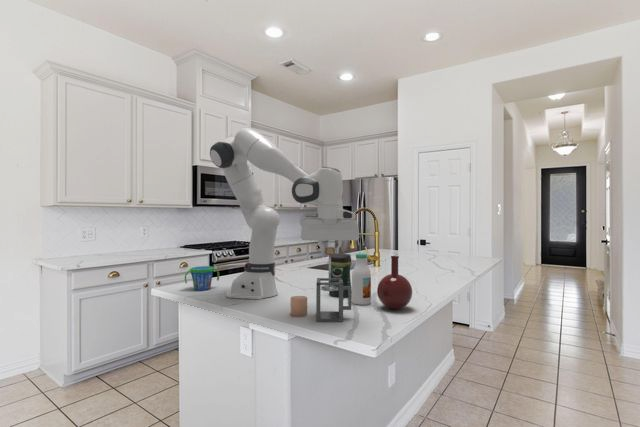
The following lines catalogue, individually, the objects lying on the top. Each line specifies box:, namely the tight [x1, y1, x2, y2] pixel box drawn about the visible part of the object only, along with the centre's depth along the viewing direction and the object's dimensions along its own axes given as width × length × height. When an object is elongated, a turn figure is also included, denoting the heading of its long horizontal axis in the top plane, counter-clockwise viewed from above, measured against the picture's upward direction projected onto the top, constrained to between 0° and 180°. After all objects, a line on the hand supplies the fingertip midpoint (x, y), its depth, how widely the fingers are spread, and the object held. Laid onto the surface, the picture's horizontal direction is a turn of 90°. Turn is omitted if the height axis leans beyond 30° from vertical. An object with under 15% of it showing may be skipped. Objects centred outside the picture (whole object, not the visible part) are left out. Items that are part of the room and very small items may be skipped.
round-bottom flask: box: [376, 255, 413, 310], centre depth 138 cm, size 13×13×20 cm
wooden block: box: [290, 295, 308, 318], centre depth 130 cm, size 6×6×6 cm
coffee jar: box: [328, 252, 352, 298], centre depth 159 cm, size 10×8×19 cm
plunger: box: [320, 246, 338, 292], centre depth 125 cm, size 6×6×15 cm
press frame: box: [315, 277, 352, 323], centre depth 125 cm, size 12×9×13 cm
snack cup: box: [184, 265, 220, 291], centre depth 170 cm, size 16×10×10 cm
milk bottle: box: [351, 252, 372, 306], centre depth 146 cm, size 8×8×20 cm
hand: (329, 253), depth 125 cm, fingers closed on plunger, 3 cm apart
